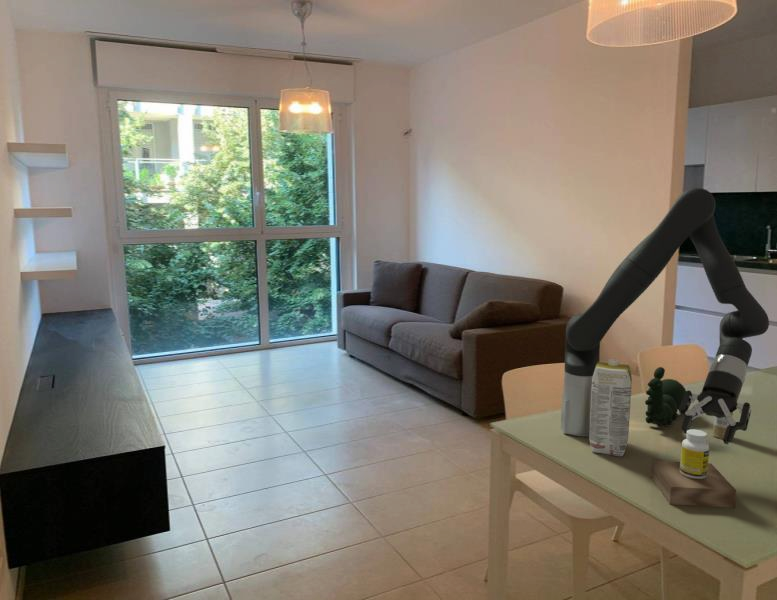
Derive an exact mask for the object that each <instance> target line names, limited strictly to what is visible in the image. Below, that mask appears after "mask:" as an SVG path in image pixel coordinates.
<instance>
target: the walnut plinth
mask: <svg viewBox="0 0 777 600" xmlns="http://www.w3.org/2000/svg"><path fill="white" fill-rule="evenodd" d="M680 462H681V461H667V460H663V461H662V460H652V461H651V473H650V474H651V475H650V478H651V479H652V480H653V481H654V483H655V485H656V487H657V488H658V489H659V491H660V492H661V493H662V495H663V497H664V498H665V499H666V501H667V502H668V504H669V505H674V506H675V505H679V506H694V507H696V506H697V507H710V508H711V507H713V508H714V507H715V508H733V509H735V508H736V507H735V505H736V495H737V489H736V488H735V487H734V486H733V485H732V484H731V483H730V482H729V481H728V480H727V479H726V477H724V475H722V473H721V472H720V471H719V470H718V468H716V466H714V464H712V463H711V462H710V463H709V462H708V469H707V476H706V477H705V478H704V479H693V478H689V477H686V476H684V475H683V474H681V472H680Z"/></svg>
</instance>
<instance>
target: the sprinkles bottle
mask: <svg viewBox="0 0 777 600" xmlns="http://www.w3.org/2000/svg"><path fill="white" fill-rule="evenodd" d="M731 415H732V417H733V418H734V416H733V415H734V411H733V412H732V413H731ZM727 426H729V424H728V422H727V420H726V418H725V417H721V418H718V417H715V416H713V431H712V436H713V437H715V438H717V439H721V440H723V438H724V435H725V432H726V429H727Z"/></svg>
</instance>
